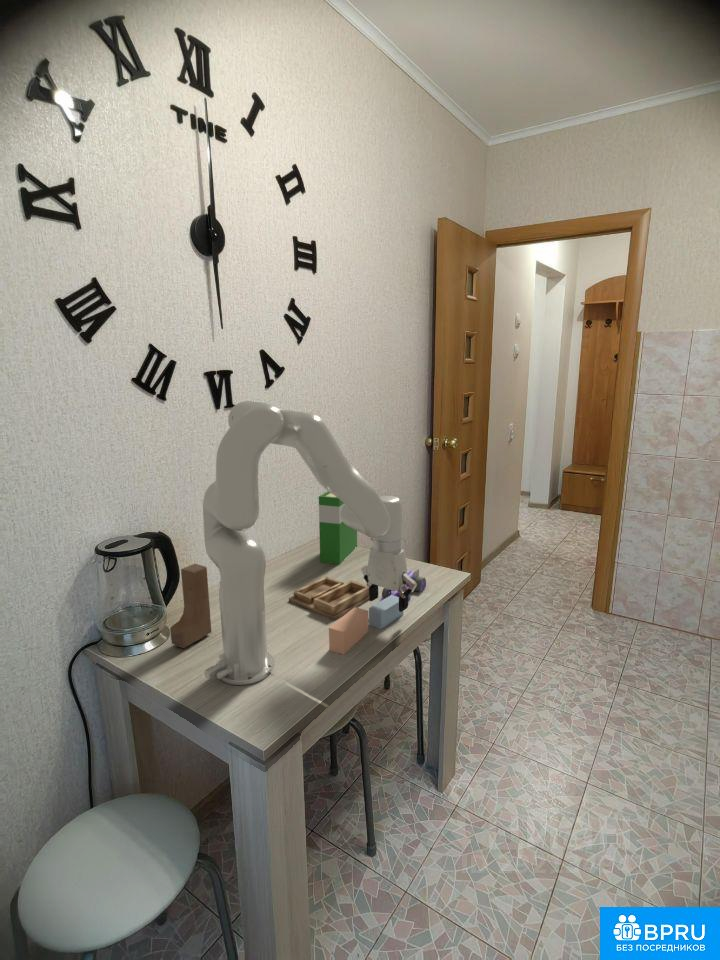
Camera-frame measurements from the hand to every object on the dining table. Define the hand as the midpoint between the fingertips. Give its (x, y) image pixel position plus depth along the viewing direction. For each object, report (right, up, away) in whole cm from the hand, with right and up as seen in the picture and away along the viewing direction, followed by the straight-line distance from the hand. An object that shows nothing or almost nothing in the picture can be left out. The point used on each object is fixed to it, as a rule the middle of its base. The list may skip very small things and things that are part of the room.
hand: (388, 604), depth 131 cm
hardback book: (-15, +6, +47) cm, 50 cm away
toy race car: (+5, -2, +15) cm, 16 cm away
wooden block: (-50, -7, -8) cm, 51 cm away
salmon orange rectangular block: (-10, -7, -9) cm, 15 cm away
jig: (-16, -2, +12) cm, 20 cm away
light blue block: (0, -5, +1) cm, 5 cm away
